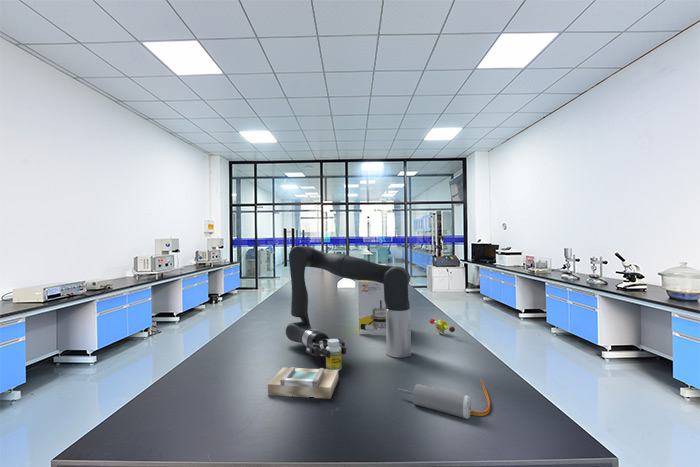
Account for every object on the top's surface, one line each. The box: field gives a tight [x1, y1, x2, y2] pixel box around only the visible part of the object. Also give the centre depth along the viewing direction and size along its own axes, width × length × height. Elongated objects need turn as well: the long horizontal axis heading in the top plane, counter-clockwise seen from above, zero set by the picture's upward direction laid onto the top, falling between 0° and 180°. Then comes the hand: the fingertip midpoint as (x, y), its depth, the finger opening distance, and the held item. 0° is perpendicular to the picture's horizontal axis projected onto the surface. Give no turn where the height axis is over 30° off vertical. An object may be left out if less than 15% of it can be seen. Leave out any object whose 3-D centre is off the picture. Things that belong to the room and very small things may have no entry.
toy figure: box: [429, 318, 456, 336], centre depth 143 cm, size 18×6×7 cm, turn 17°
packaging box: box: [357, 280, 386, 336], centre depth 151 cm, size 16×16×25 cm
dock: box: [267, 366, 339, 400], centre depth 91 cm, size 18×12×4 cm
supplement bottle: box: [325, 338, 343, 372], centre depth 104 cm, size 5×5×10 cm
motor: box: [397, 378, 491, 420], centre depth 86 cm, size 23×22×5 cm
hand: (337, 353), depth 102 cm, fingers closed on supplement bottle, 5 cm apart
